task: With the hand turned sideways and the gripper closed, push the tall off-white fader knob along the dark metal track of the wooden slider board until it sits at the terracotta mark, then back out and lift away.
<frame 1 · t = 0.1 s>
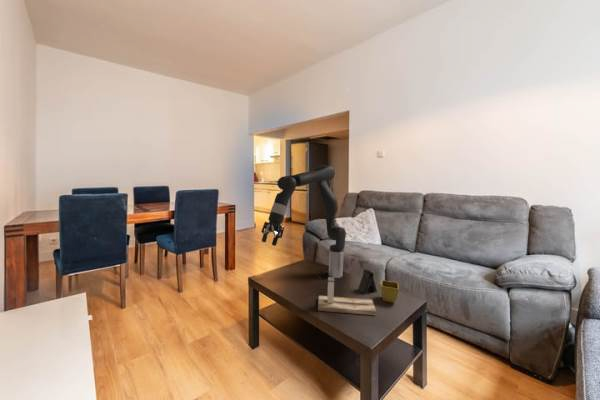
hand: (268, 243, 130), 31 cm above the table, tool tilted 20°, fingers open, 8 cm apart
phone stand: (367, 291, 150), on the table
fader knob: (330, 290, 131), point 8 cm above the table, slide at 0.0 cm
flower pot: (388, 300, 139), on the table
wooden slider board: (345, 306, 131), on the table
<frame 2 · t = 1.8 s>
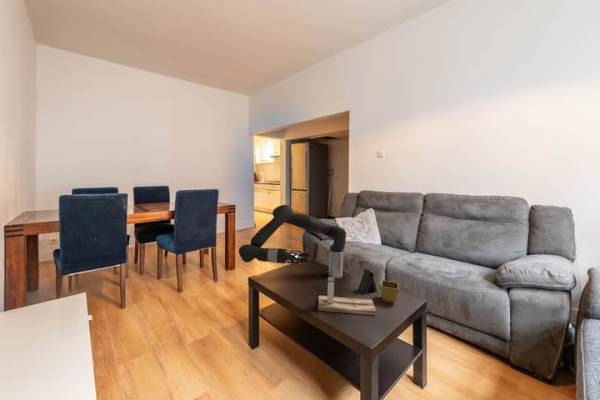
hand: (308, 257, 132), 24 cm above the table, tool horizontal, fingers open, 7 cm apart
nothing on the table moved.
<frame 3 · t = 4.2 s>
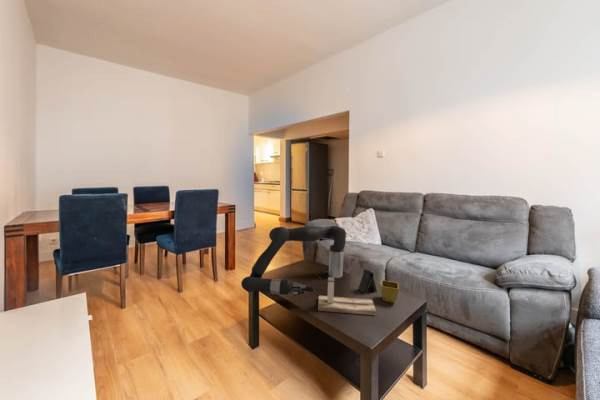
hand: (313, 289, 132), 8 cm above the table, tool horizontal, fingers closed
nothing on the table moved.
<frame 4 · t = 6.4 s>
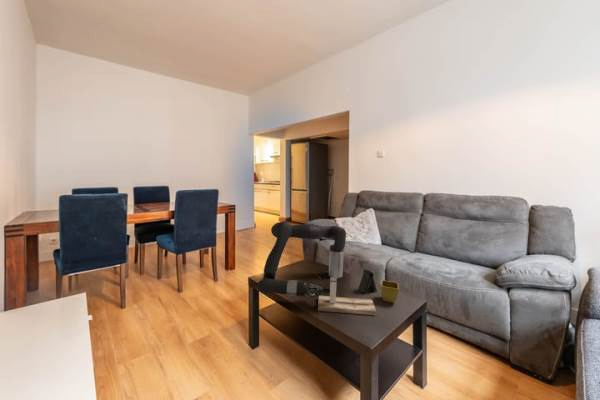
hand: (330, 290, 131), 8 cm above the table, tool horizontal, fingers closed
fader knob: (333, 290, 131), point 8 cm above the table, slide at 1.2 cm, touching gripper
everything else where it was.
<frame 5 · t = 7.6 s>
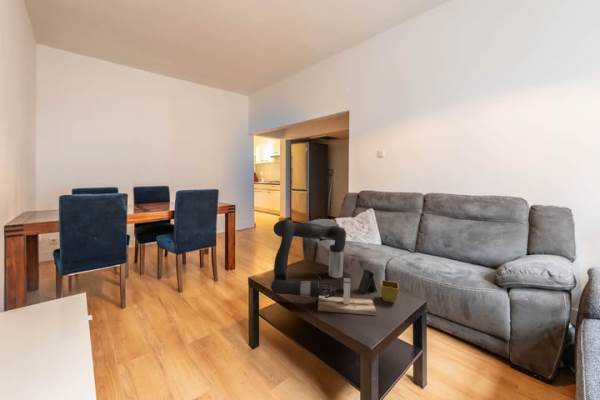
hand: (343, 291, 130), 8 cm above the table, tool horizontal, fingers closed
fader knob: (346, 291, 130), point 8 cm above the table, slide at 8.1 cm, touching gripper
everything else where it was.
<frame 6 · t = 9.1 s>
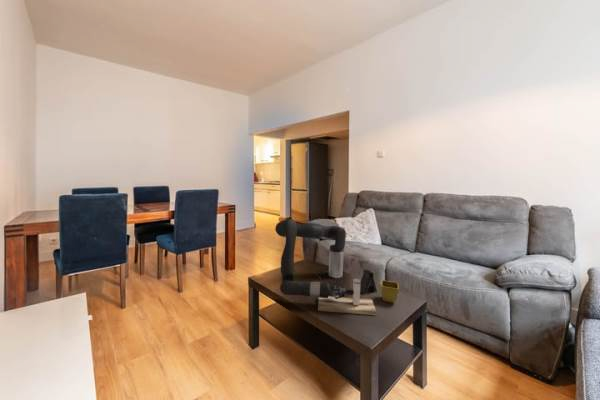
hand: (353, 292, 130), 8 cm above the table, tool horizontal, fingers closed
fader knob: (356, 291, 130), point 8 cm above the table, slide at 12.9 cm, touching gripper
everything else where it was.
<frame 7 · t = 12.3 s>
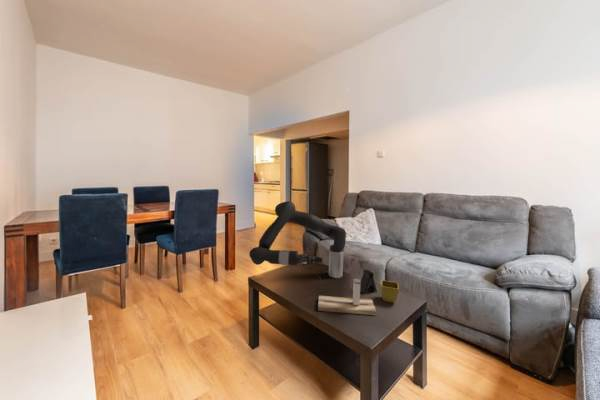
hand: (322, 260, 130), 24 cm above the table, tool horizontal, fingers closed
fader knob: (356, 291, 130), point 8 cm above the table, slide at 13.0 cm
everything else where it was.
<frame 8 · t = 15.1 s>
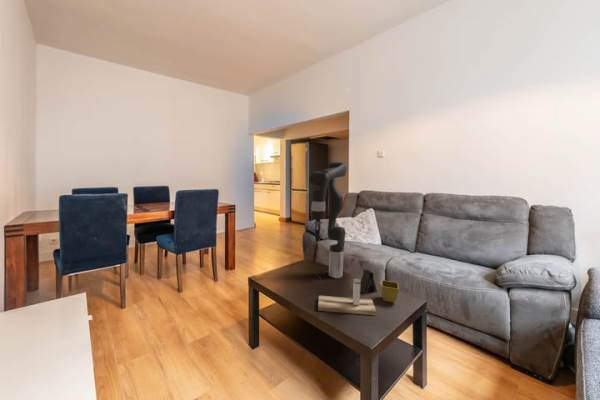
hand: (317, 241, 139), 31 cm above the table, tool pointing down, fingers closed
nothing on the table moved.
at the end: fader knob slide at 13.0 cm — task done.
